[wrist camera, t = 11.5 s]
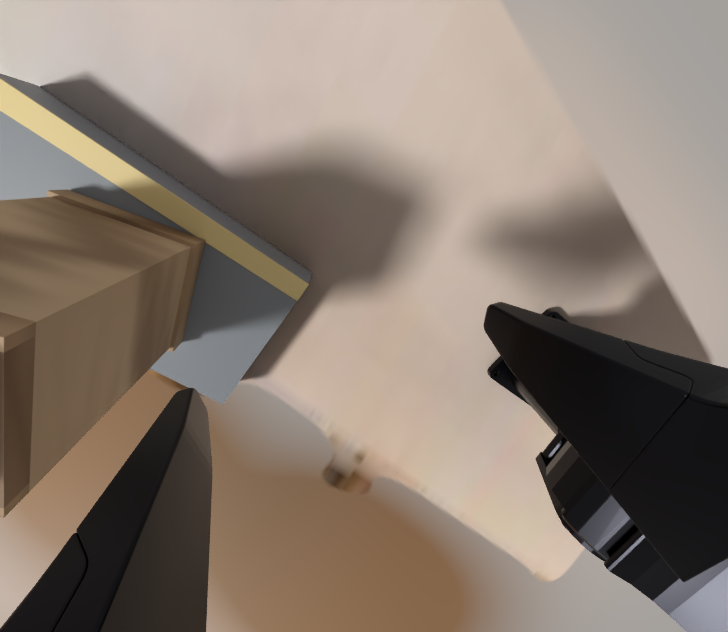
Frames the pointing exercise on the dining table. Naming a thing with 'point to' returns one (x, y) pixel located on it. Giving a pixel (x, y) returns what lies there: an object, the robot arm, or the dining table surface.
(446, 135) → the dining table surface
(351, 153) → the dining table surface
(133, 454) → the robot arm
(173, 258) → the open wooden bin
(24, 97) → the dock
